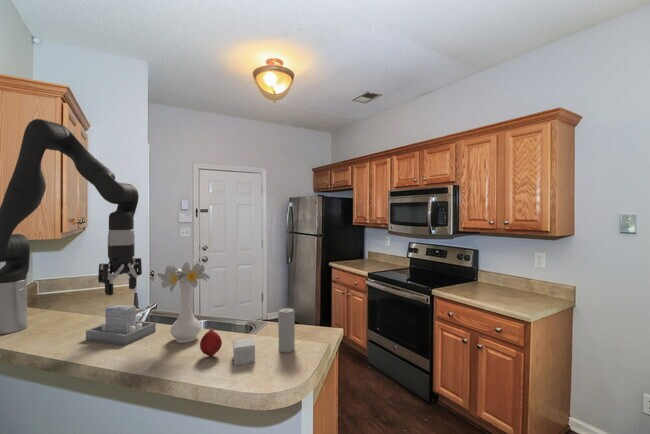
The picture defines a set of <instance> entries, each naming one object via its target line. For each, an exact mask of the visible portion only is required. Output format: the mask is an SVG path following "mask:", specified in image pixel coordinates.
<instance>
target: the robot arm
mask: <svg viewBox="0 0 650 434" xmlns="http://www.w3.org/2000/svg"><path fill="white" fill-rule="evenodd" d="M46 150H49V151H58V152H59V153H62V154H64V155H66V156H67V157H69V158H70V159H71V160H72V162H73V163H74V167H75V169H76V171H77V172H78V174H79V175H81V176H82V178H84V179H85V180H86V181H88V183H90V184H91V185H92V186H94V188H95V190H96V191H97V192H98V193H99V195H100V196H101V197H102V198H103V200H105V201H107V202H108V203H110V204H113V205H117V208H116V210H114V211H113V212H110V213H109V215H108V231H107V232H108V235H107V258H108V260H109V261H108V263H103V262H102V263H99V264H98V274H97V275H98V277H97V279H98V280H97V282H98V283H101V284H104V293H105V295H106V296H113V295H114V281H115V279H117V278H118V276H119V275H123V274H126V275H128V289H130V290H135V289H136V287H137V278H138V277H139V276H141V275H142V273H143V271H142V269H143V267H142V258H141V257H135V231H134V230H135V229H134V228H135V227H134V226H135V225H134V223H135V220H134V218H135V214H136V211H137V207H138V203H139V199H140V198H139V191H138V189H137V188H136V187H135V186H134V185H133V184H131V183H127V182H126V183H123V182H118V181H117V180H116V176H115V173H114V172H112V170H111V169H109V168H108V167H107V166H106V165H104V164H103V163H102V162H101V161H100V160H99V159H97V158H96V157H95V156H93V154H92V153H91V152H89V150H88V149H86V147H85V146H84V145H83V143H81V142H80V141H79V139H78V138H77V137H76V136H75V135H74V133H72V132H71V130H70V129H68V128H67V126H65V125H63V124H61V123H57V122H53V121H49V120H45V119H41V118H35V119H32V120H31V121H30V122H28V124H27V125H26V126H25V129H24V132H23V136H22V140H21V144H20V149H19V154H18V157H17V161H16V164H15V167H14V170H13V173H12V175H11V178H10V179H9V182H8V184H7V188H6V190H5V193H4V194H3V195H4V196H3V199H2V202H1V204H0V263H2V262H3V263H5V264H4V265H3V266H2V267H1V268H0V335H3V334H5V335H6V334H12V333H16V332H18V331H22V330H24V329H26V328H27V327H28V282H27V281H28V279H27V277H28V276H27V275H28V273H29V269H30V259H31V257H30V256H31V255H30V254H31V246H30V245H31V244H30V241H29V239H28V237H26V236H25V235H24V234H20V233H14V231H15V230H16V229H17V227H18V225H20V224H21V223H22V222H23V221H24V220H26V219H27V218H28V217H29V216H30V215H32V213H34V212H35V211H36V210H37V208H39V206H40V204H41V203H42V202H43V201H42V200H43V198H44V195H45V192H46V189H47V184H46V179H45V177H44V174H43V170H42V160H43V157H44V155H45V151H46Z"/></svg>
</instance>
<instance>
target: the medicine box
mask: <svg viewBox="0 0 650 434" xmlns="http://www.w3.org/2000/svg"><path fill="white" fill-rule="evenodd" d="M136 310H137V307H136V305H128V304H127V305H126V304H114V305H111V306H109V307H106V308H105V322H106V332H111V333H119V334H124V335H126V334H128V333H129V327H130V326H135V330H136V321H137V311H136Z"/></svg>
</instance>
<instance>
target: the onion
mask: <svg viewBox="0 0 650 434" xmlns="http://www.w3.org/2000/svg"><path fill="white" fill-rule="evenodd" d="M222 343H223V341H222V337H221V336H220V334H218V333H217V332H216V331H214V328H210V329H209V330H208V331H207V332H206V333H205V334H204V335H203V336H202V337H201V340H200V341H199V348H200V351H201V352H202V354H204V355H206V356H208V357H211V358H212V357H214V356H215V355H216V354H217V353H218V352H219V351H220V349H221V348H222V346H223V344H222Z"/></svg>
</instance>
